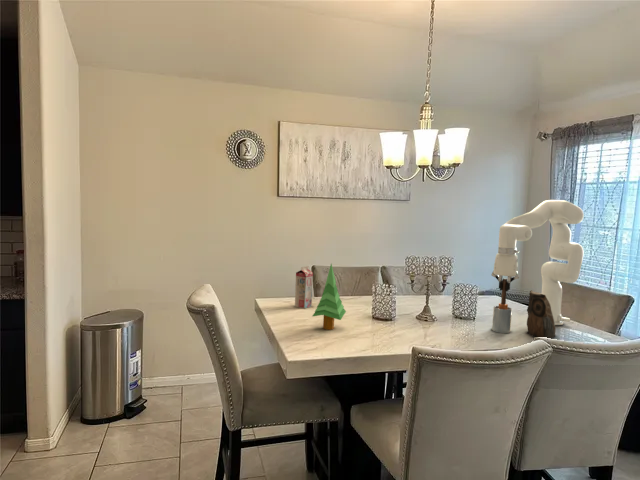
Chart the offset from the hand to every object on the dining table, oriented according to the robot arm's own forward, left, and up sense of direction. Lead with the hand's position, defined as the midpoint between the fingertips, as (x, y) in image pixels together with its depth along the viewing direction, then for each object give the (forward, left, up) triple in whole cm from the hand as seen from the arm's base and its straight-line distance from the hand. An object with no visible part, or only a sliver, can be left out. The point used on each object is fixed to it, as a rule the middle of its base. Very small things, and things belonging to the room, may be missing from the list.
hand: (504, 290), depth 212 cm
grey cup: (0, 0, -19) cm, 19 cm away
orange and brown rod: (0, 0, -14) cm, 14 cm away
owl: (-17, -4, -20) cm, 26 cm away
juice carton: (+98, +25, -20) cm, 103 cm away
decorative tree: (+63, +53, -20) cm, 85 cm away
